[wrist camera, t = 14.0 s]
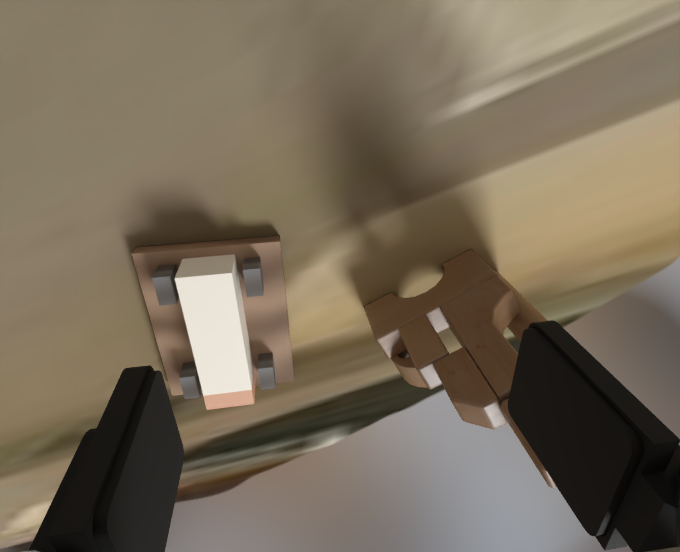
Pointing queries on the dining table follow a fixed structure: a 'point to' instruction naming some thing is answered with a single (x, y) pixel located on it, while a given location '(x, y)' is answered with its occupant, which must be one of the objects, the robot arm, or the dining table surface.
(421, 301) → the wooden toy
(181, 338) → the brown fixture board
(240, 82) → the dining table surface
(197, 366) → the block
